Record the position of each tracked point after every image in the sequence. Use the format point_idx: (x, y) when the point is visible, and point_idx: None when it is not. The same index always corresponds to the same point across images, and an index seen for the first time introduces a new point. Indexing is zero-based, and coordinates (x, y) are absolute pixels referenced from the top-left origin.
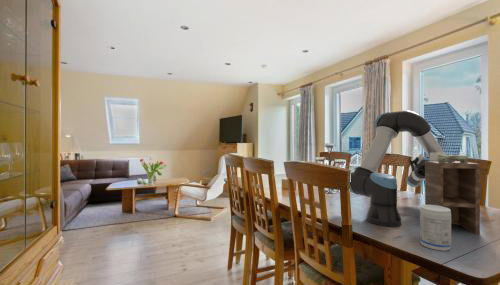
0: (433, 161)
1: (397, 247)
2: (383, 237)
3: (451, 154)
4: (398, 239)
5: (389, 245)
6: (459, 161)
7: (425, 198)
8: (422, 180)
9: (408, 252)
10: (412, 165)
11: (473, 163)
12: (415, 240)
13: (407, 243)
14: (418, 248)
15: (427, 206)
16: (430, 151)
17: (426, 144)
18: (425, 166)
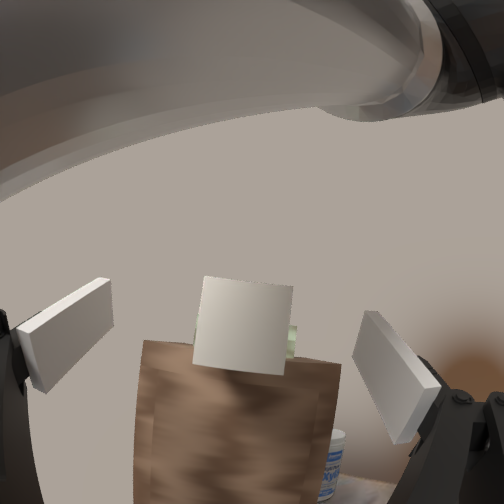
0: (304, 360)
1: (366, 479)
2: (392, 493)
3: (105, 281)
4: (368, 496)
5: (377, 480)
6: (163, 343)
7: None
8: None
9: (351, 475)
10: (464, 474)
11: (190, 344)
12: (339, 500)
13: (353, 490)
14: (337, 484)
15: (334, 434)
16: (146, 139)
17: (299, 108)
18: (335, 397)
